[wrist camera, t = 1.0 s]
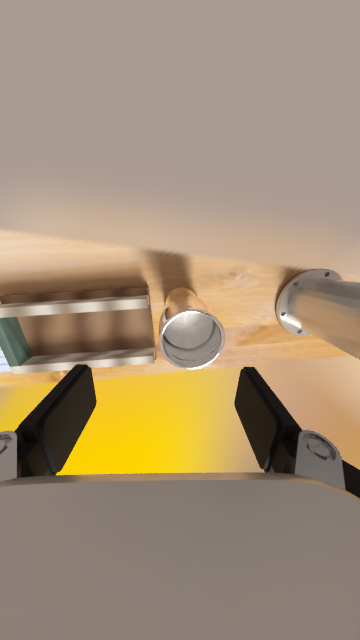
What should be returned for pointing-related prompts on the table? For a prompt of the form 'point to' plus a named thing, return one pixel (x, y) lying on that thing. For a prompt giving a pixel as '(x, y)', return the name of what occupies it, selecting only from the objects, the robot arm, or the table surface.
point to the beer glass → (189, 330)
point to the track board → (77, 329)
